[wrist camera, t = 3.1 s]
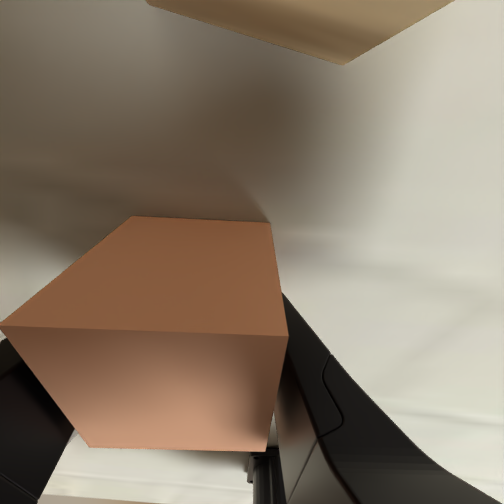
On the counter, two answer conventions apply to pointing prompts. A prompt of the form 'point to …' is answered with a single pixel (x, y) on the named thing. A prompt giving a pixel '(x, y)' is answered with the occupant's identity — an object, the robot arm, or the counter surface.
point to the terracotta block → (163, 336)
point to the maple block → (311, 21)
